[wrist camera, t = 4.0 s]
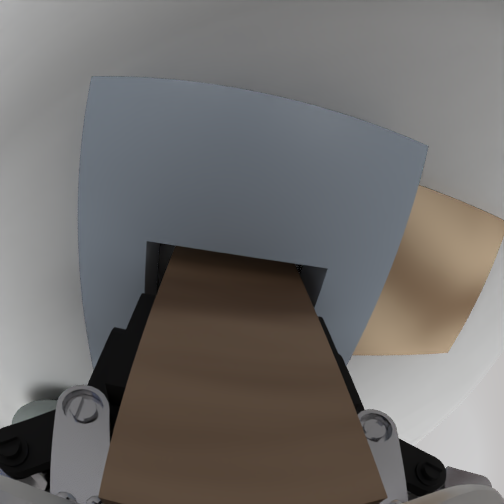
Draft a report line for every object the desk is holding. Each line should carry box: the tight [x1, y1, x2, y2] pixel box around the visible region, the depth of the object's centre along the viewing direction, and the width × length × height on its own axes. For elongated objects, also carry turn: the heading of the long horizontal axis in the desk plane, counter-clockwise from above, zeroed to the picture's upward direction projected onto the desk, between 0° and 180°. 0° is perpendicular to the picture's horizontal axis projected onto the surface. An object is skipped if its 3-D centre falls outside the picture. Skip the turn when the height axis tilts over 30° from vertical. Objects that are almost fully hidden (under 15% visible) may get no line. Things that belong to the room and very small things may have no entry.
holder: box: [78, 76, 429, 369], centre depth 12 cm, size 16×11×2 cm
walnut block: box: [98, 246, 388, 504], centre depth 8 cm, size 4×4×10 cm
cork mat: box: [352, 185, 504, 355], centre depth 13 cm, size 9×9×1 cm
